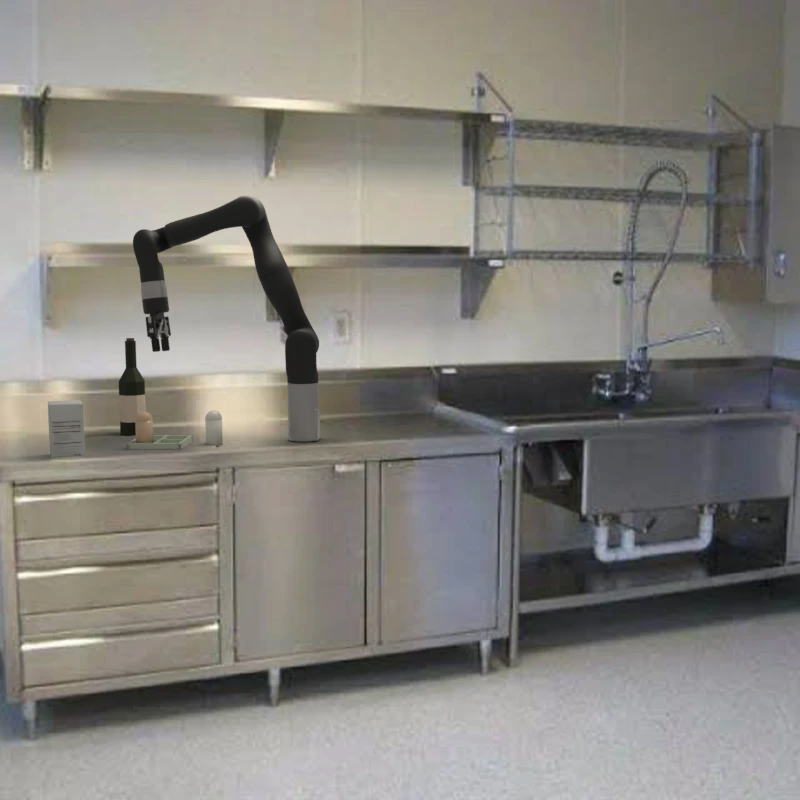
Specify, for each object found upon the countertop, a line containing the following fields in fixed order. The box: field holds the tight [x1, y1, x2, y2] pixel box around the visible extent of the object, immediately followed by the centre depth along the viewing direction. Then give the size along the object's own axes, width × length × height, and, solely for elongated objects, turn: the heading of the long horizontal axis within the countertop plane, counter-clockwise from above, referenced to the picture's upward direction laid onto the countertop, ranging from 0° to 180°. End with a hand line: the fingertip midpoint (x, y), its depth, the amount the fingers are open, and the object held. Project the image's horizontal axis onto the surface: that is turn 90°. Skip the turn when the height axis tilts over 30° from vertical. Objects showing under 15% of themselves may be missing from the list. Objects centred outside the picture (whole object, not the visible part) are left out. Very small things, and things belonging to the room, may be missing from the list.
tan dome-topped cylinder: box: [135, 411, 154, 443], centre depth 297 cm, size 5×5×10 cm
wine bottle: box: [118, 337, 147, 437], centre depth 324 cm, size 8×8×30 cm
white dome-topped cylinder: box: [204, 410, 224, 447], centre depth 303 cm, size 5×5×10 cm
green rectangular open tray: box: [125, 434, 194, 450], centre depth 301 cm, size 15×15×2 cm
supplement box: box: [47, 399, 86, 459], centre depth 286 cm, size 9×9×15 cm
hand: (161, 351), depth 311 cm, fingers open, 8 cm apart
